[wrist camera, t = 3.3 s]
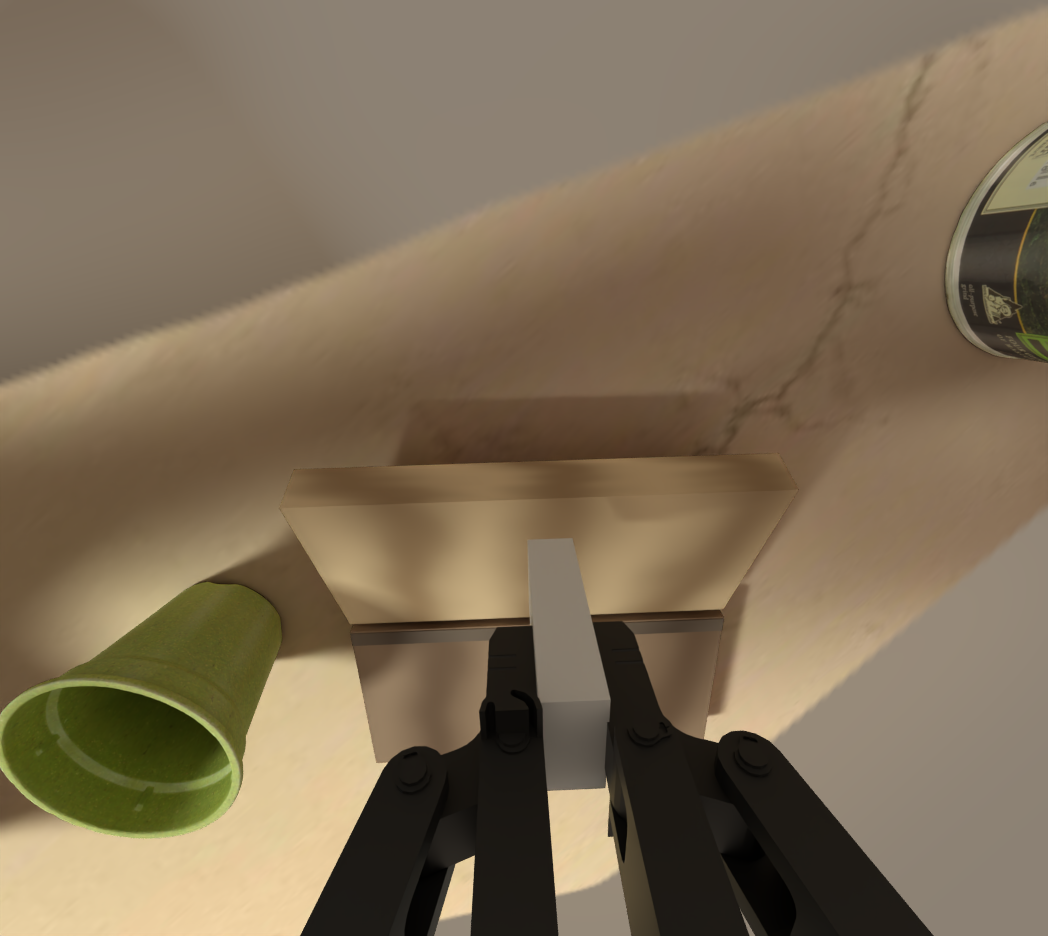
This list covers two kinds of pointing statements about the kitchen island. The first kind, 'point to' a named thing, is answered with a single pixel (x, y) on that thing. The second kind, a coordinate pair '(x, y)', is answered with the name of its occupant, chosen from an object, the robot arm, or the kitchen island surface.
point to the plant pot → (149, 719)
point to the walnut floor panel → (462, 663)
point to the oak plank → (536, 532)
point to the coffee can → (1005, 256)
